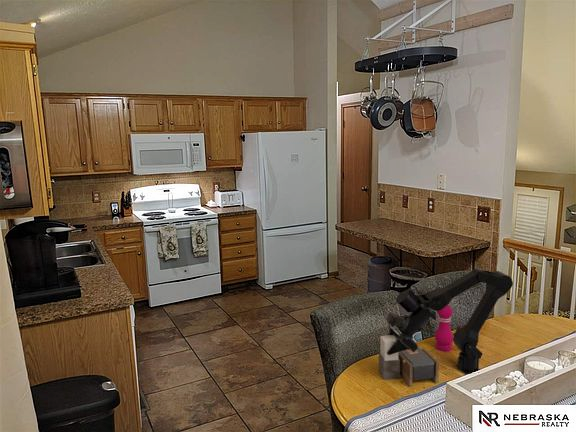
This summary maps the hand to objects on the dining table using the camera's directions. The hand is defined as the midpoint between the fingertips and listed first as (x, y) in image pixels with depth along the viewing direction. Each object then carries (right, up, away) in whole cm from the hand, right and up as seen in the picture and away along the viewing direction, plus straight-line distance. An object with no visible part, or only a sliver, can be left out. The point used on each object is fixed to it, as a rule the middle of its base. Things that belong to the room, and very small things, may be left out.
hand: (385, 350), depth 163 cm
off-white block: (+1, -2, 0) cm, 3 cm away
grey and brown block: (+11, -7, 0) cm, 13 cm away
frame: (+11, -10, -1) cm, 15 cm away
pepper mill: (+29, -6, +21) cm, 36 cm away
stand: (+2, -9, +2) cm, 10 cm away
